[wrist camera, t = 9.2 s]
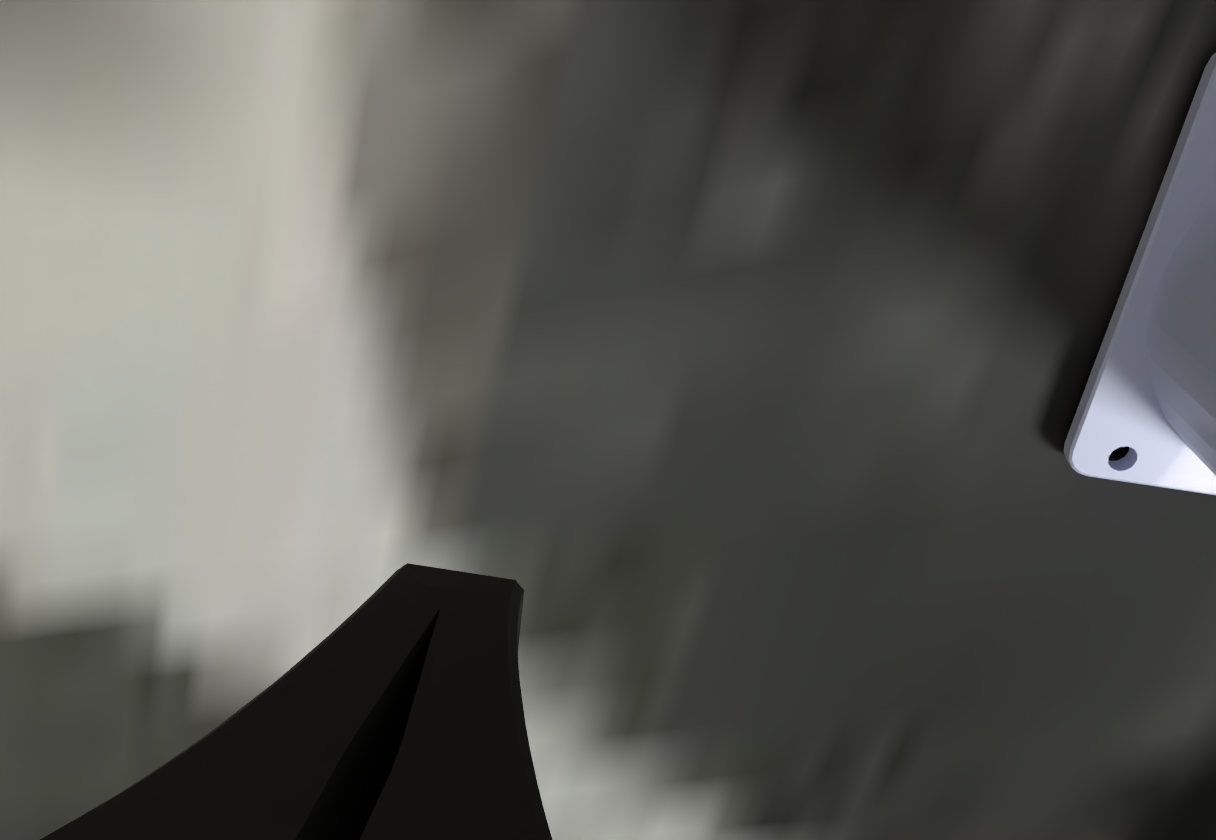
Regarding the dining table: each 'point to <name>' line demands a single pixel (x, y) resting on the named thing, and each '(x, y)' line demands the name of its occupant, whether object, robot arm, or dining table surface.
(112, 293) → the dining table surface
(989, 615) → the dining table surface
